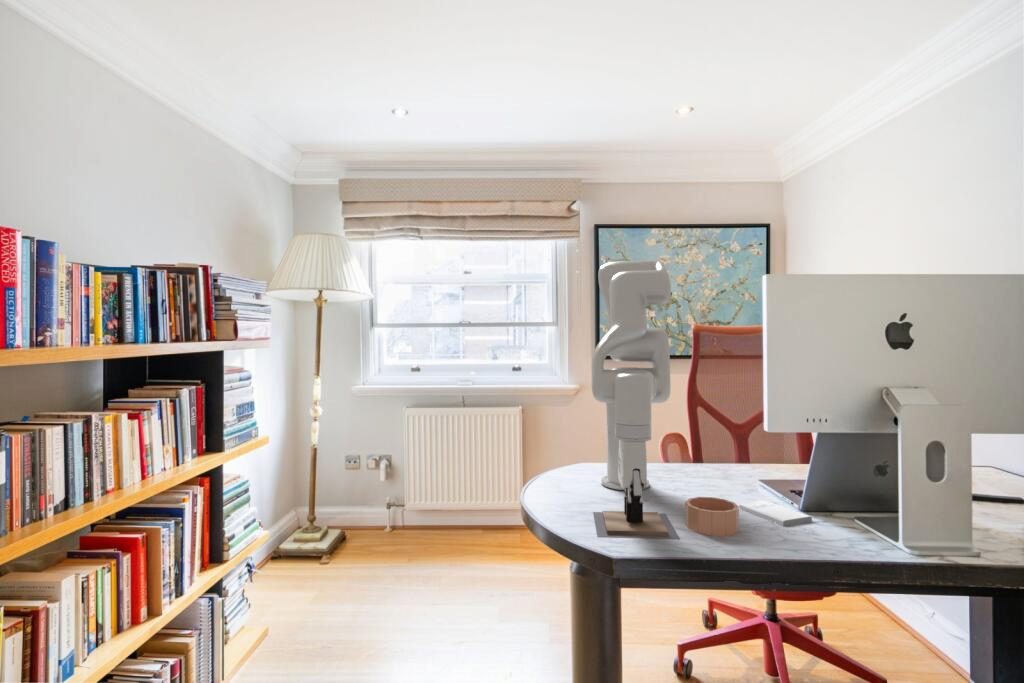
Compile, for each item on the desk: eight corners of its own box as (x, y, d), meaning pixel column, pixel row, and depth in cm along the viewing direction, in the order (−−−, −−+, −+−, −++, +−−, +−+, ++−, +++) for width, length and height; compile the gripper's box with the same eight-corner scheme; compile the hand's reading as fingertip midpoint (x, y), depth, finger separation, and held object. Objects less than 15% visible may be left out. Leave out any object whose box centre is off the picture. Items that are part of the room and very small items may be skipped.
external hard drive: (783, 528, 111) (738, 510, 123) (812, 523, 114) (766, 506, 126) (783, 520, 111) (738, 503, 123) (812, 516, 114) (766, 499, 126)
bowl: (681, 519, 115) (681, 496, 115) (729, 520, 114) (729, 497, 114) (693, 536, 105) (692, 511, 105) (745, 537, 105) (744, 512, 104)
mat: (593, 513, 120) (593, 512, 120) (665, 515, 118) (665, 513, 118) (597, 538, 105) (597, 536, 105) (680, 540, 103) (680, 539, 103)
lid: (602, 514, 118) (602, 488, 118) (657, 515, 117) (657, 489, 117) (607, 534, 106) (606, 505, 106) (668, 536, 105) (668, 506, 105)
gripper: (611, 425, 120) (611, 506, 120) (619, 438, 104) (619, 532, 104) (645, 425, 119) (645, 506, 119) (658, 439, 103) (658, 533, 103)
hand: (633, 517), depth 111 cm, fingers open, 3 cm apart
